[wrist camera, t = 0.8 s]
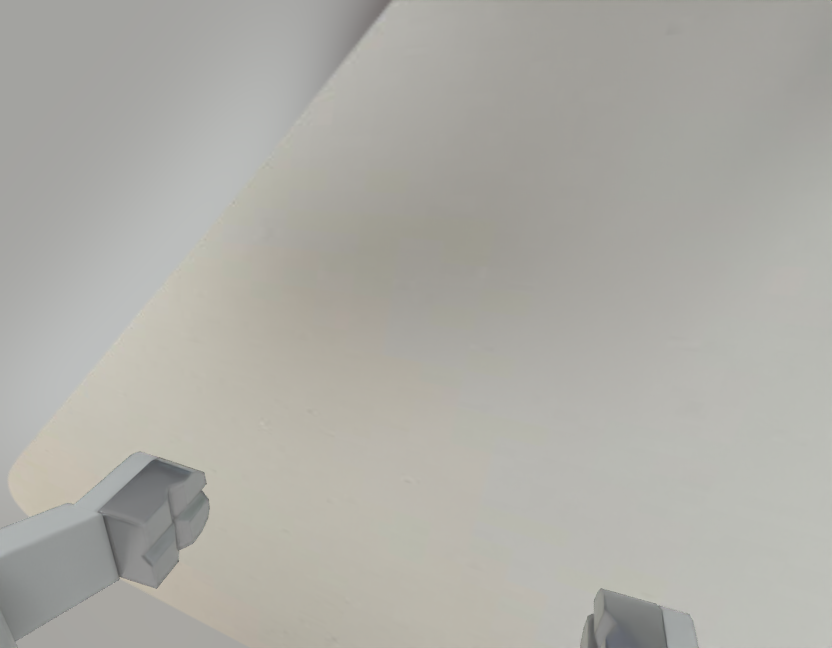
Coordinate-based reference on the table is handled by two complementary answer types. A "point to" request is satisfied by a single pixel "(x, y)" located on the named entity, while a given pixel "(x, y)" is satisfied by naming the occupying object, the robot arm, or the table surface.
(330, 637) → the table surface
